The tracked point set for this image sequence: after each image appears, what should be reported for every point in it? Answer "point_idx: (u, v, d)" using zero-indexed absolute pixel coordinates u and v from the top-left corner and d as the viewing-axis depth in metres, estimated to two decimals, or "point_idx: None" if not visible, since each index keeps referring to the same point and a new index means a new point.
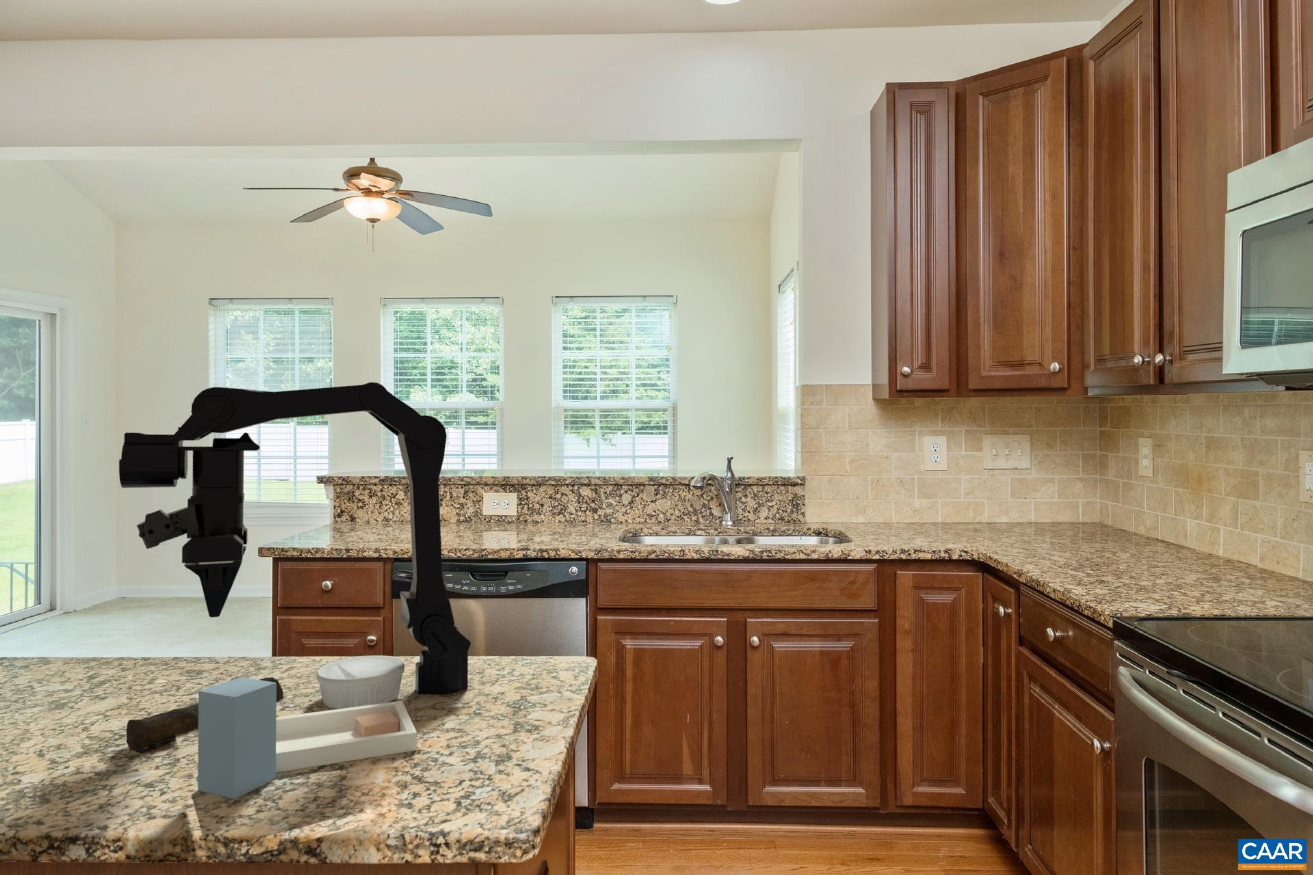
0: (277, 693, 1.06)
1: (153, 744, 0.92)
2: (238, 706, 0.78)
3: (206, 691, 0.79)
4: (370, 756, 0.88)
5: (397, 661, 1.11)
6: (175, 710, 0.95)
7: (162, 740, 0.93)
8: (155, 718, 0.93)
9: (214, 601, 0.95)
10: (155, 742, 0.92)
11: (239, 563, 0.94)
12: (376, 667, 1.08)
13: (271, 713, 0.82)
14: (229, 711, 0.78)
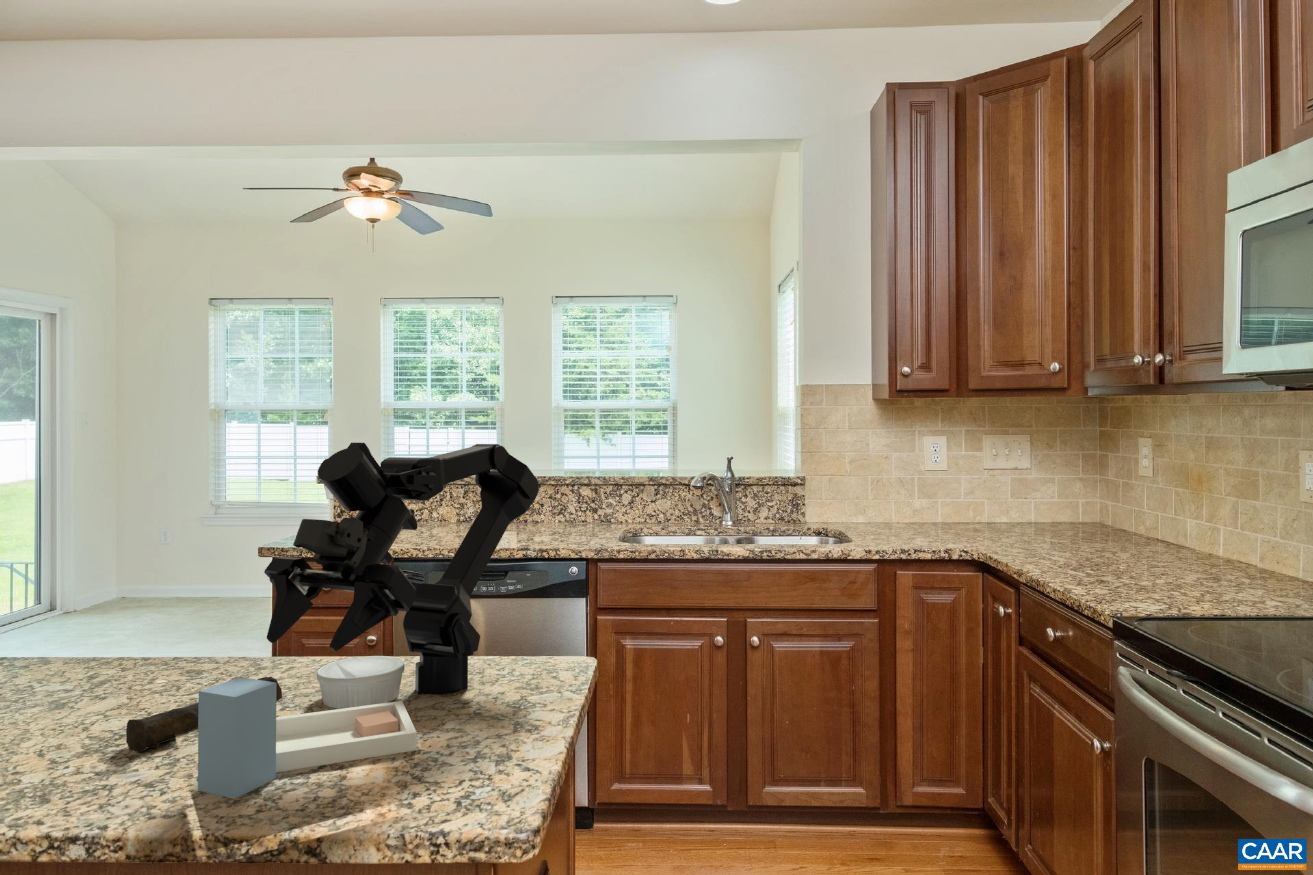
0: (276, 692, 1.07)
1: (153, 744, 0.92)
2: (238, 706, 0.78)
3: (206, 691, 0.79)
4: (370, 756, 0.88)
5: (397, 661, 1.11)
6: (175, 710, 0.95)
7: (162, 740, 0.93)
8: (155, 717, 0.93)
9: (347, 634, 0.88)
10: (155, 742, 0.92)
11: (397, 613, 0.92)
12: (375, 667, 1.08)
13: (271, 713, 0.82)
14: (229, 711, 0.78)
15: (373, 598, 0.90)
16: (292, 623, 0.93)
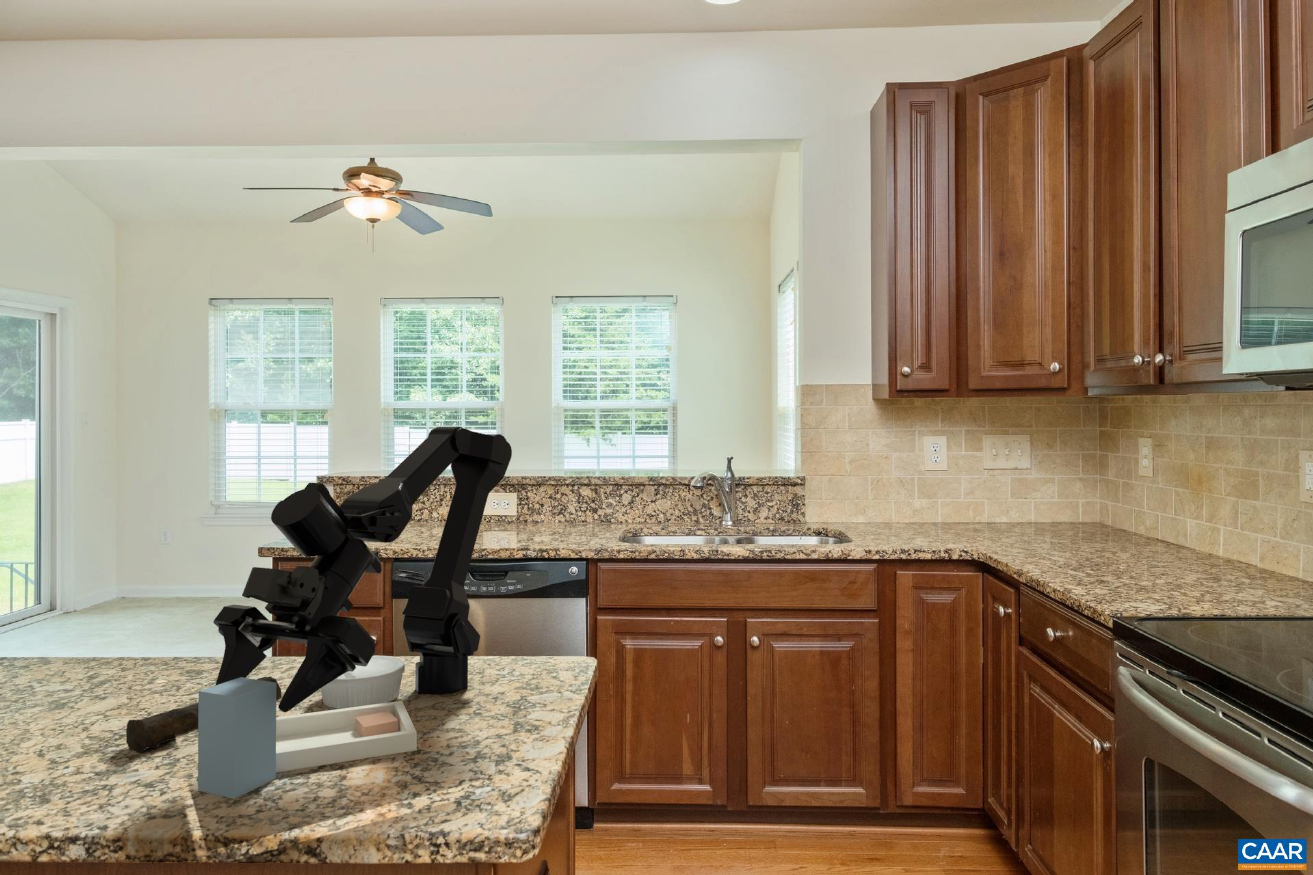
0: None
1: (154, 744, 0.92)
2: (238, 706, 0.78)
3: (206, 691, 0.79)
4: (370, 756, 0.88)
5: (397, 661, 1.11)
6: (175, 710, 0.95)
7: (162, 740, 0.93)
8: (155, 718, 0.93)
9: (298, 693, 0.81)
10: (156, 742, 0.92)
11: (355, 668, 0.85)
12: (376, 667, 1.08)
13: (271, 713, 0.82)
14: (229, 711, 0.78)
15: (328, 653, 0.84)
16: None
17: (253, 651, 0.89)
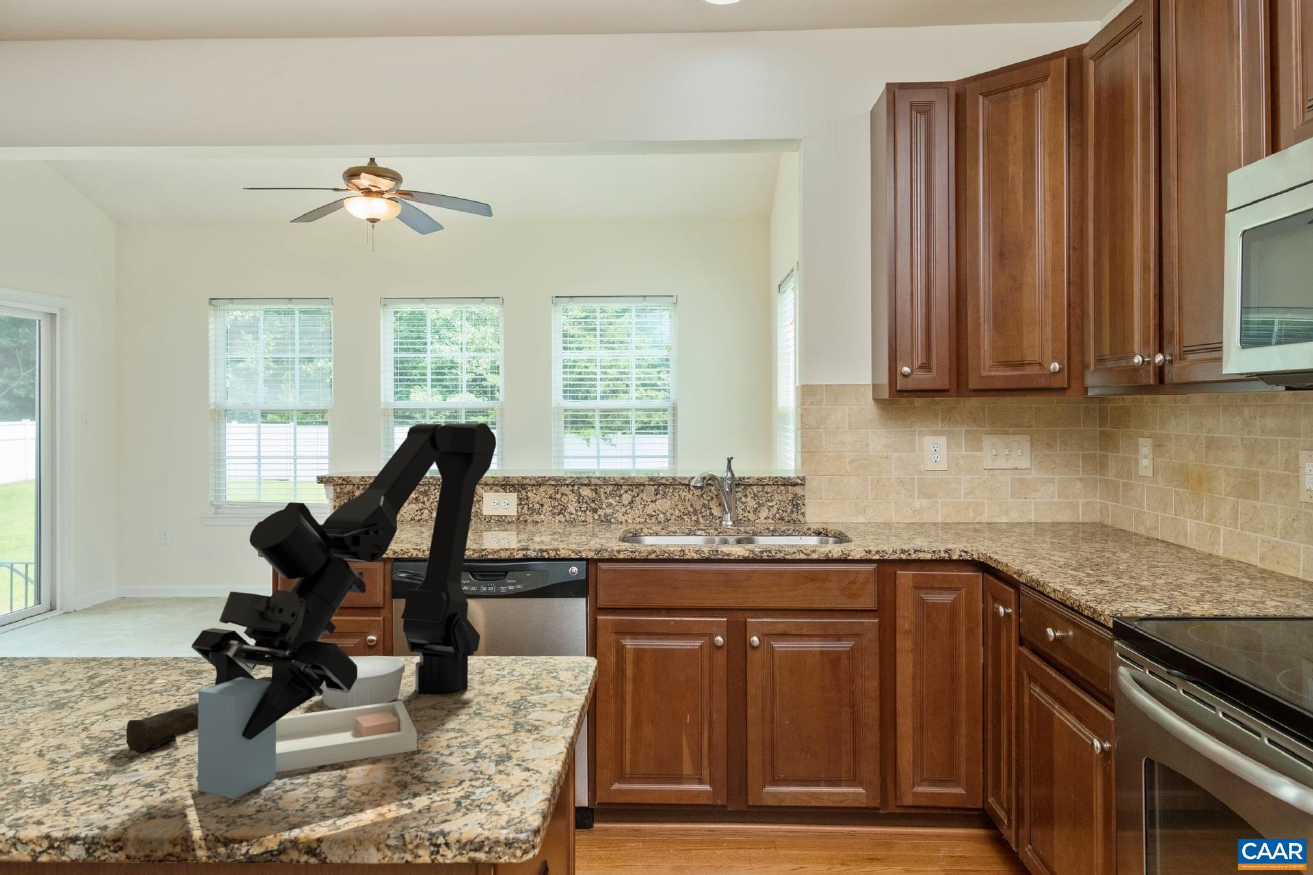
0: None
1: (154, 744, 0.92)
2: (238, 706, 0.78)
3: (206, 691, 0.79)
4: (370, 756, 0.88)
5: (397, 662, 1.11)
6: (175, 710, 0.95)
7: (163, 740, 0.93)
8: (156, 718, 0.93)
9: (263, 719, 0.80)
10: (156, 742, 0.92)
11: (322, 693, 0.84)
12: (376, 668, 1.08)
13: None
14: (229, 711, 0.78)
15: (294, 678, 0.82)
16: None
17: None
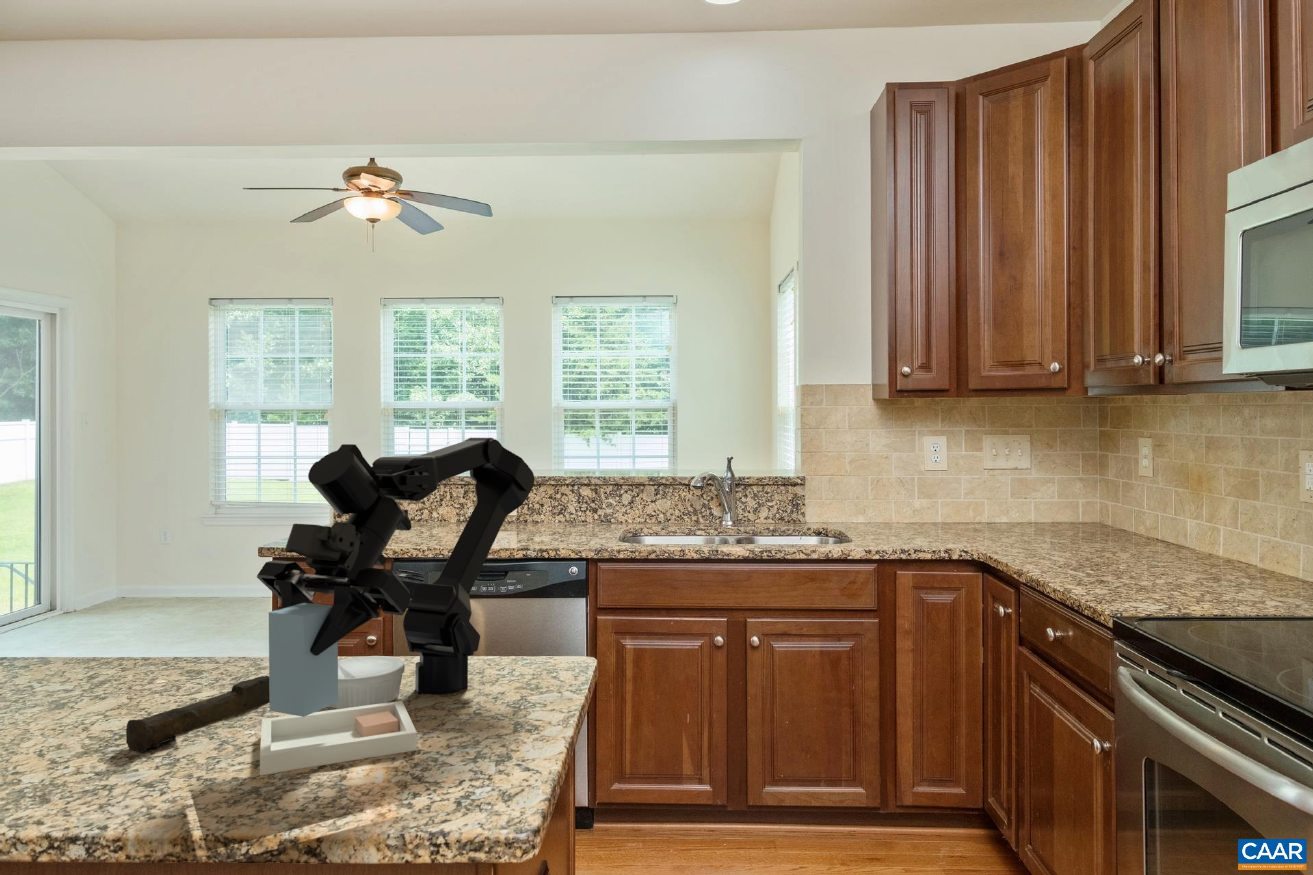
0: None
1: (155, 744, 0.92)
2: (306, 624, 0.86)
3: (275, 612, 0.87)
4: (370, 756, 0.88)
5: (397, 661, 1.11)
6: (175, 710, 0.95)
7: (163, 739, 0.93)
8: (156, 717, 0.93)
9: (328, 638, 0.88)
10: (157, 742, 0.92)
11: (379, 615, 0.92)
12: (375, 668, 1.08)
13: None
14: (298, 629, 0.86)
15: (353, 601, 0.90)
16: None
17: None
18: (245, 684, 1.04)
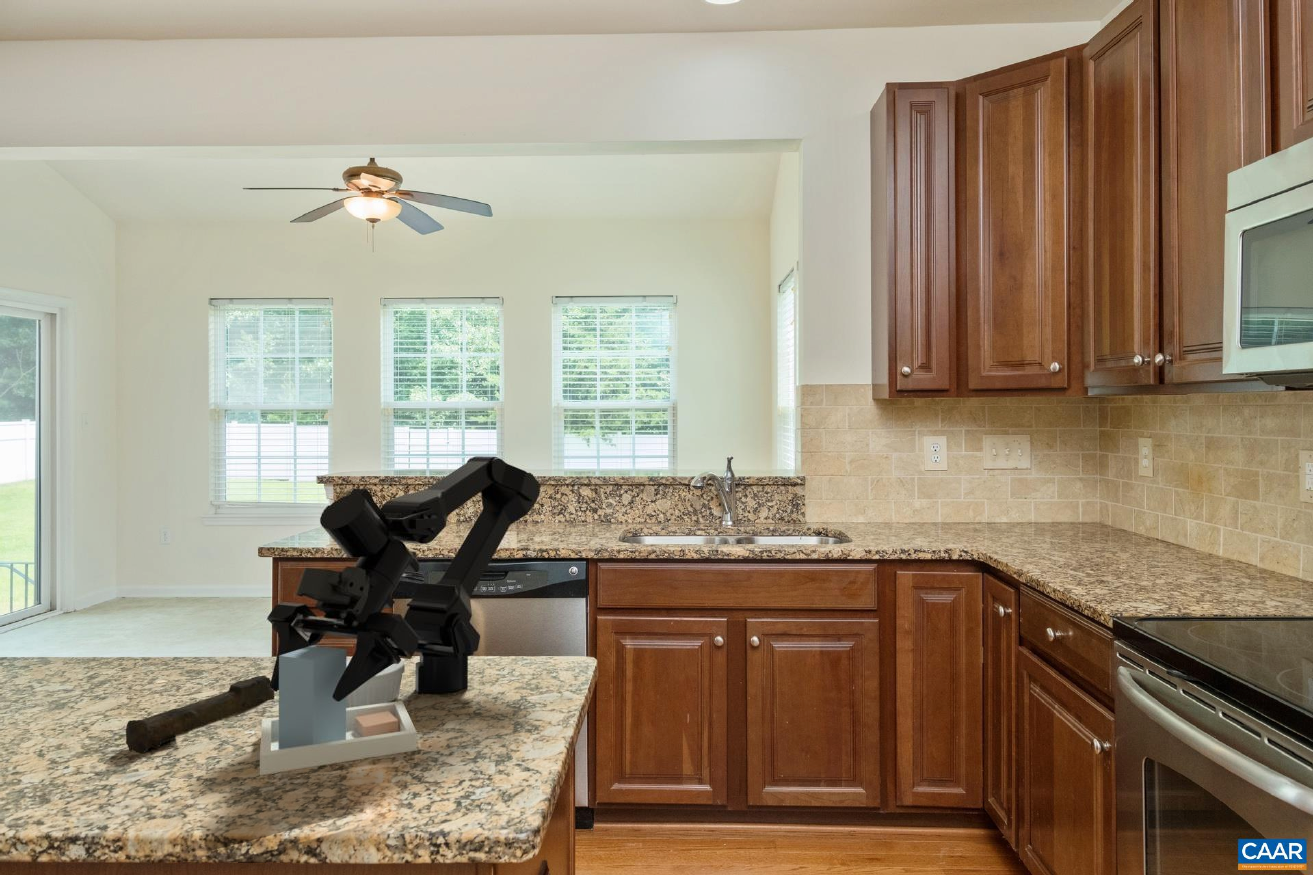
0: (269, 691, 1.07)
1: (155, 744, 0.92)
2: (316, 668, 0.87)
3: (286, 656, 0.89)
4: (370, 756, 0.88)
5: None
6: (174, 710, 0.96)
7: (163, 740, 0.93)
8: (156, 718, 0.93)
9: (350, 684, 0.88)
10: (157, 742, 0.92)
11: None
12: None
13: None
14: (308, 673, 0.87)
15: (376, 647, 0.90)
16: None
17: (304, 645, 0.95)
18: (243, 684, 1.04)
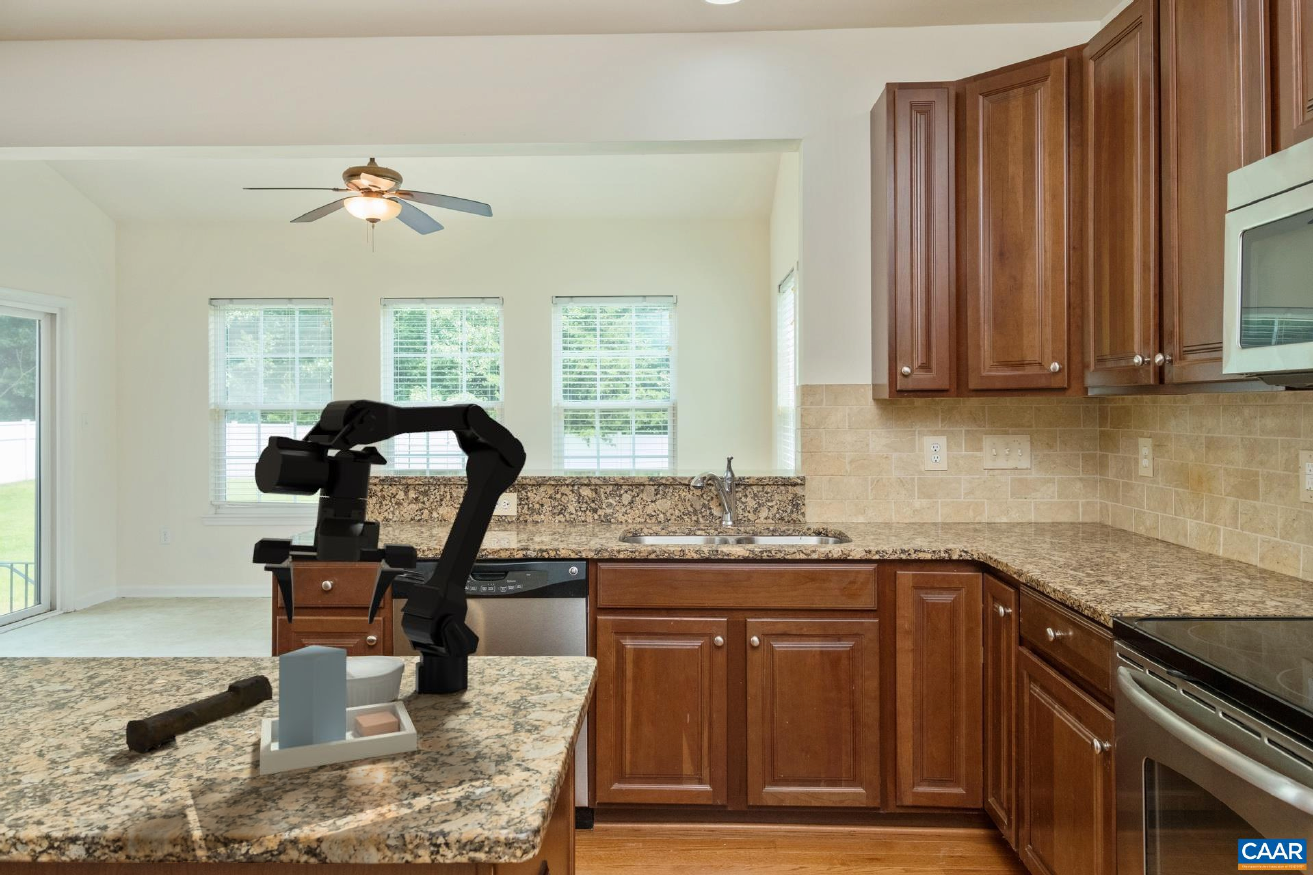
0: (267, 690, 1.07)
1: (156, 744, 0.92)
2: (316, 668, 0.87)
3: (286, 656, 0.89)
4: (370, 756, 0.88)
5: (397, 661, 1.11)
6: (174, 709, 0.96)
7: (164, 739, 0.93)
8: (156, 718, 0.93)
9: None
10: (158, 742, 0.92)
11: None
12: (375, 668, 1.08)
13: (342, 676, 0.91)
14: (308, 673, 0.87)
15: None
16: (293, 594, 0.98)
17: (292, 570, 0.98)
18: (241, 683, 1.04)
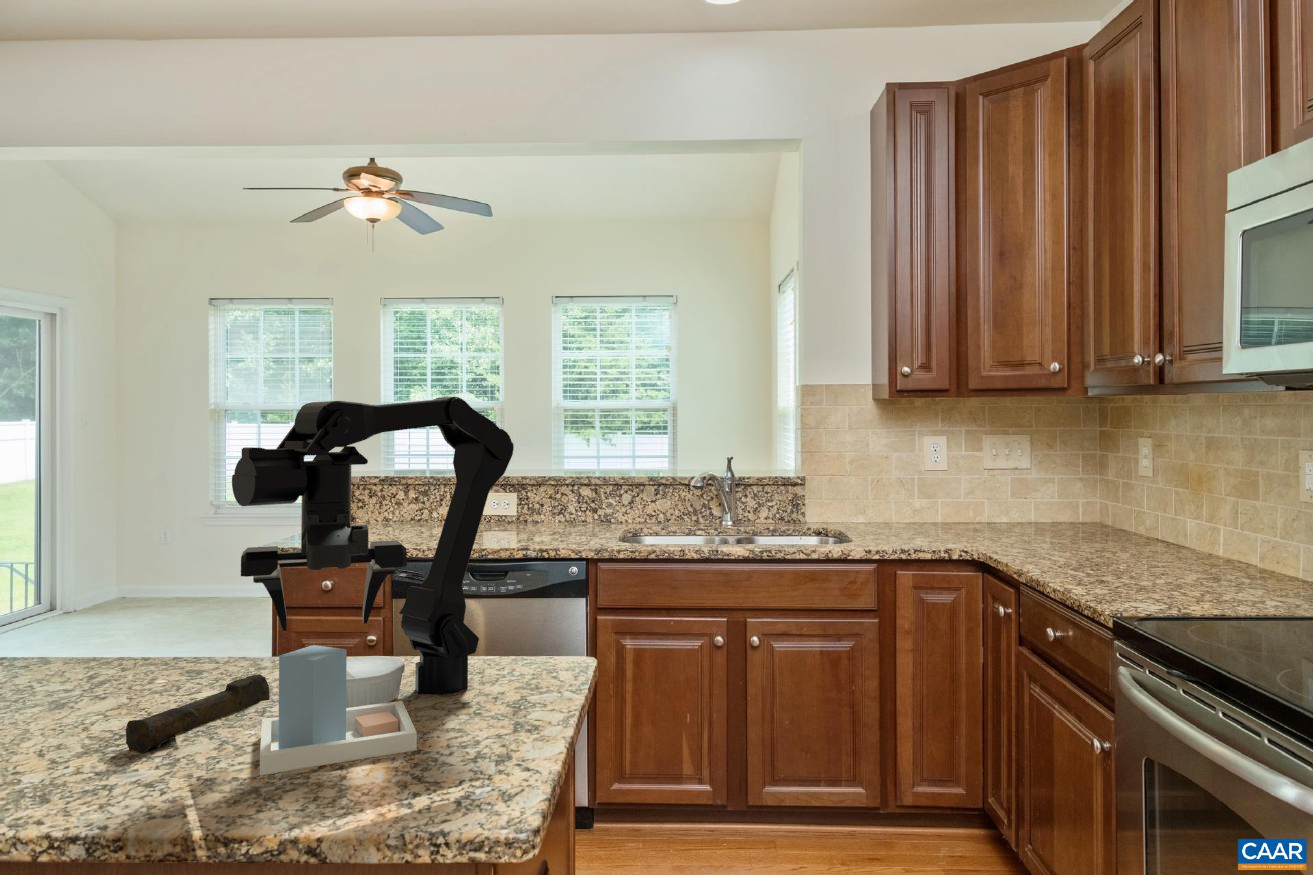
0: (265, 690, 1.08)
1: (156, 743, 0.92)
2: (316, 668, 0.87)
3: (286, 656, 0.89)
4: (370, 756, 0.88)
5: (397, 662, 1.11)
6: (174, 709, 0.96)
7: (164, 739, 0.93)
8: (156, 717, 0.93)
9: None
10: (158, 741, 0.92)
11: None
12: (375, 668, 1.08)
13: (342, 676, 0.91)
14: (308, 673, 0.87)
15: None
16: (284, 601, 0.98)
17: None
18: (239, 683, 1.04)
